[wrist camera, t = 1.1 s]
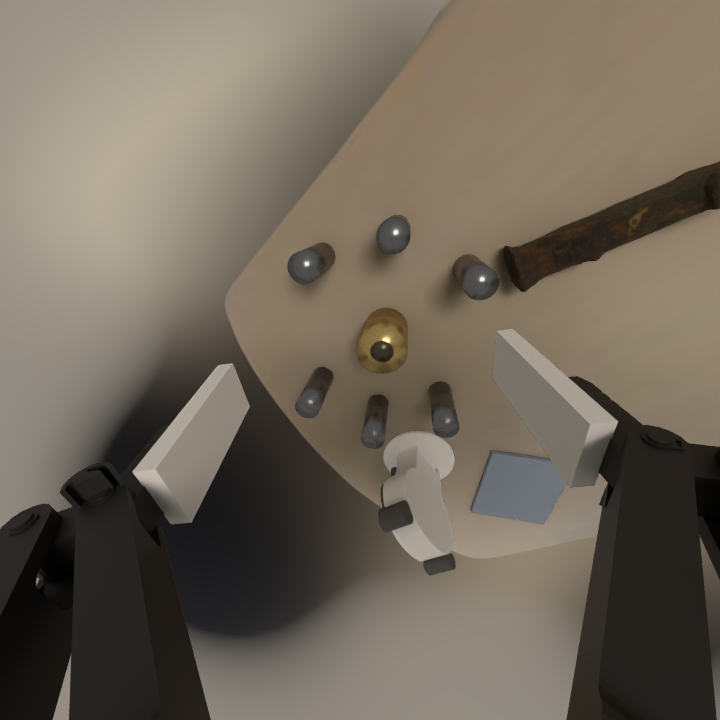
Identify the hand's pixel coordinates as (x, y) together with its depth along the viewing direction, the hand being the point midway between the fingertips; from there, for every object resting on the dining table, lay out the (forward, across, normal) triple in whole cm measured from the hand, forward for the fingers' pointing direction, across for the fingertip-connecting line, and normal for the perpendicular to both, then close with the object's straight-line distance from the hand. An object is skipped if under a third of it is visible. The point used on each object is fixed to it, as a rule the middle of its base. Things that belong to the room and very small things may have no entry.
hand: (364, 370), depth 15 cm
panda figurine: (+22, -5, +31) cm, 38 cm away
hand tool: (+21, -26, -3) cm, 34 cm away
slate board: (+19, -21, +37) cm, 47 cm away
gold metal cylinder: (+23, -2, +8) cm, 25 cm away
